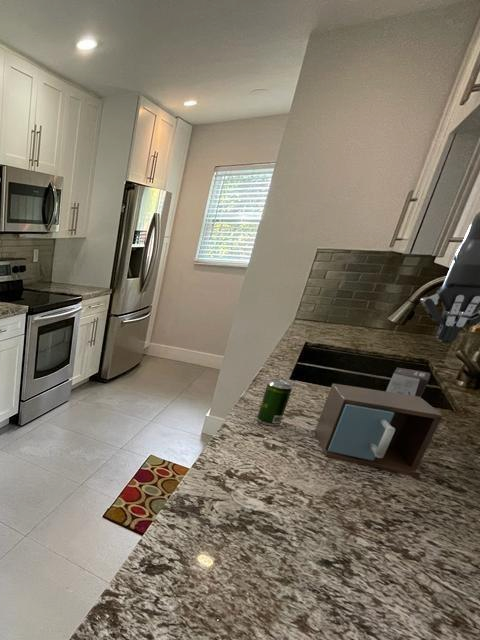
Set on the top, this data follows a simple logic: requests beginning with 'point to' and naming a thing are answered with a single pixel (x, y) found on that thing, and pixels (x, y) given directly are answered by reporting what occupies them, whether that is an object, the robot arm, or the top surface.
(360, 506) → the top surface
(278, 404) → the beer can
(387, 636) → the top surface
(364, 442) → the glass door
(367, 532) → the top surface
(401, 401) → the display cabinet
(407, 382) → the coffee box
